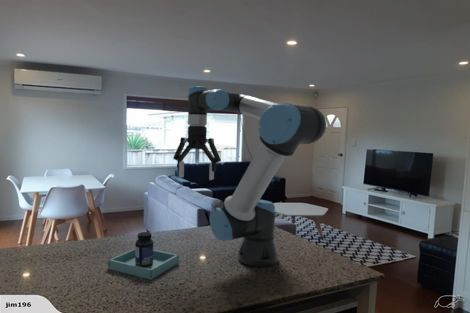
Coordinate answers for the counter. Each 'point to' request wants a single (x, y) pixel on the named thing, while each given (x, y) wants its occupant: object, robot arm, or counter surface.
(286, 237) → the counter surface
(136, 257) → the pill bottle
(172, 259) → the tray
